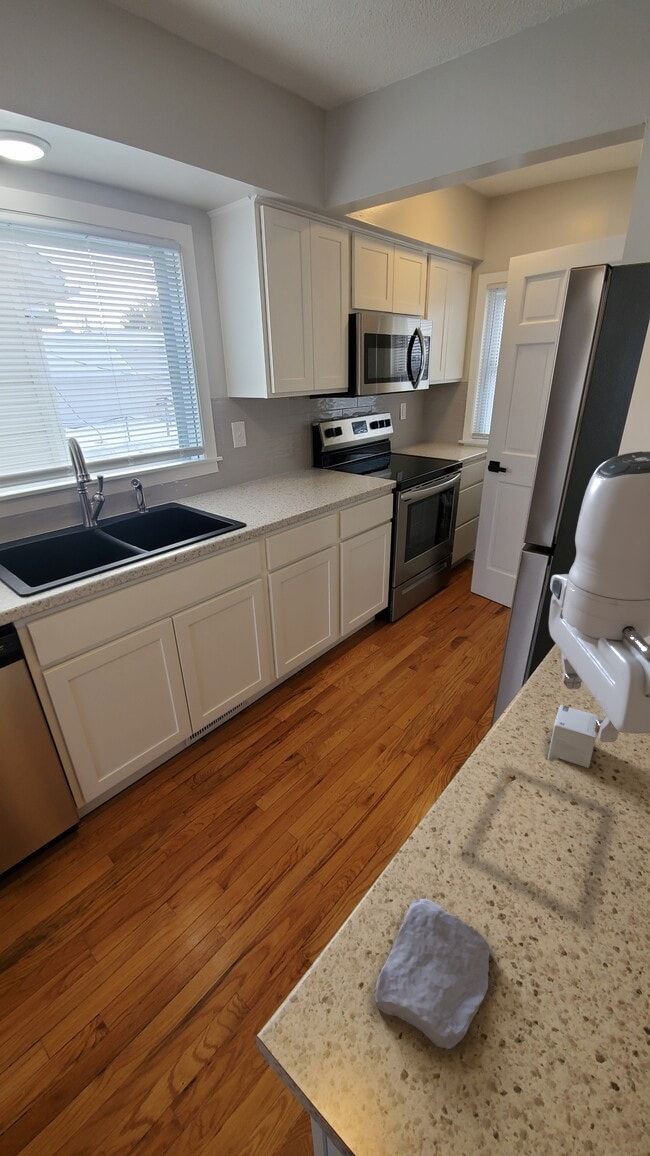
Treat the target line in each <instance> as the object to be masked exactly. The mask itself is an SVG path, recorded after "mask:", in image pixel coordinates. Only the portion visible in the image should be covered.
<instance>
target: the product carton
mask: <svg viewBox="0 0 650 1156" xmlns="http://www.w3.org/2000/svg"><path fill="white" fill-rule="evenodd" d="M597 720H600V715H598V714H595V713H591V712H589V711H588V712H587V711H584V710H580V709H576V708H573V707H570V706H566V705H562V704H561V705H559V708H558V711H557V713H556V717H555V721H554V724H553V725H554V726H553V730H552V735H551V739H550V745H549V751H548V756H547V759H548V760H549V761H551V762H554V761H556V760H557V759H560V760H562V761H566V762H569V763H572V764H574V765H575V764H576V765H578V766H580V767H584V768H587V769H589V768H590V765H591V760H592V756H593V752H594V747H595V743H596V740H597V737H598V736H597V734H596V732H595V728H596V721H597Z"/></svg>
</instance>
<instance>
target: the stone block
mask: <svg viewBox="0 0 650 1156" xmlns="http://www.w3.org/2000/svg"><path fill="white" fill-rule="evenodd" d="M490 954H491V950H490V945H489V943H488V942H487V941H486V940H485V938H484V937H483V935H482V934H480V932H478V931H477V930H475V929H474V928H472V927H471V926H469V925H468V924H467V923H465V922H464V921H463V920H461V918H458V917H457V916H456V915H454V914H451V913H450V912H447V911H446V909H444V908H443V907H442V906H440V905H439V904H438V903H436V902H434V901H433V900H431V899H428V898H420V899H418V898H417V899H415V900H413V901H412V902H411V904H410V905H409V907H408V909H407V911H406V914H405V916H404V918H403V921H402V923H401V925H400V927H399V930H398V933H397V936H396V939H395V941H394V943H393V946H392V949H391V951H390V953H389V955H388V956H387V958H386V962H385V963H384V965H383V966H382V968H381V970H380V972H379V974H378V977H377V981H376V984H375V985H376V986H375V996H374V1001H375V1005H376V1008H377V1009H378V1010H379V1011H380V1012H382V1013H383V1014H386V1015H388V1016H391V1017H392V1016H394V1017H398V1018H399V1019H400V1020H402V1021H405V1022H406V1023H408V1024H409V1025H411V1026H413V1027H415V1029H417V1030H419V1031H420V1032H421V1033H423V1035H425V1037H427V1038H428V1040H430V1041H431V1042H432V1043H433V1044H434V1045H435V1046H436V1047H438V1048H442V1049H443V1048H445V1049H446V1050H450V1049H452V1048H455V1047H456V1046H457V1044H458V1043H460V1042H461V1041H462V1040H463V1039H464V1037H465V1036H466V1034H467V1033H468V1030H469V1027H470V1025H471V1023H472V1021H473V1020H474V1017H475V1016H476V1014H477V1013H478V1011H479V1009H480V1006H481V1004H482V1002H483V1001H484V998H485V996H486V994H487V992H488V989H489V972H490V964H489V963H490Z"/></svg>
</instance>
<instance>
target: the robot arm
mask: <svg viewBox="0 0 650 1156" xmlns="http://www.w3.org/2000/svg"><path fill="white" fill-rule="evenodd" d="M574 543H575V549H576V550H575V551H576V554H575V558H574V562H573V563H572V565H571V567H570V569H569V572H568V573H563V574H553V575H552V576H551V578H550V585H549V588H550V591H551V593H552V595H551V598H550V603H549V604H550V605H549V614H548V631H549V636H550V637H551V639H552V640H553V642H554V643H555V644H556V646H557V647H558V649H559V650H560V652H561V654H560V655H561V663H562V670H563V674H562V679H561V681H562V683H563V684H564V685H565V687H566V689H568V690H580V689H581V687H582V683H583V684H584V686H585V687H586V689H587V691H588V692H589V693H590V694H591V696H592V697H593V698H594V700H595V701H596V703H597V704H598V706H599V707H600V709H601V710H602V715H603V717H604V719H603V720H601V719H599V720H597V721H596V728H595V732H596V734H597V736H596V737H598V739H599V741H600V742H602V743H615V742H616V741H617V740H618V737H619V734H620V733H622V734H638V735H639V734H641V735H642V734H650V644H649V643H648V642H647V641H646V640H645V638H647V637H650V451H633V452H628V453H623V454H620V455H616V456H612V457H611V458H609V459H607V460H606V461H603V462H602V463H600V464H599V465H598V467H597V468H596V469H595V471H594V472H593V474H592V475H591V477H590V479H589V482H588V484H587V487H586V489H585V492H584V496H583V499H582V503H581V506H580V511H579V515H578V520H577V526H576V529H575V537H574Z"/></svg>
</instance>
